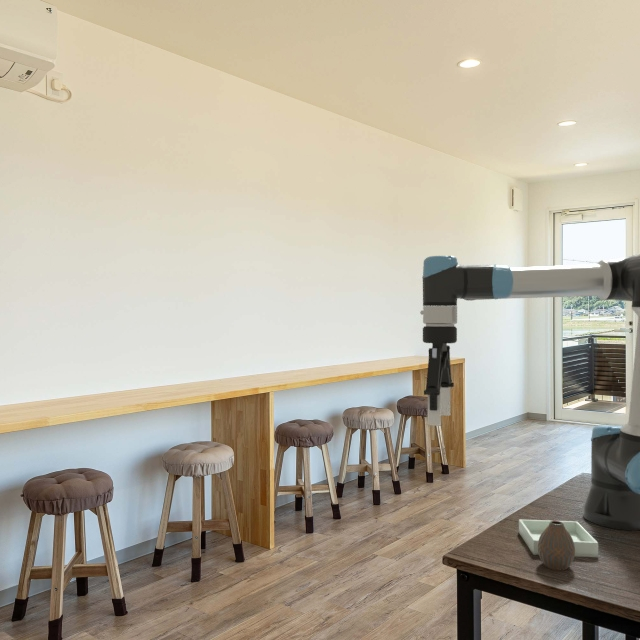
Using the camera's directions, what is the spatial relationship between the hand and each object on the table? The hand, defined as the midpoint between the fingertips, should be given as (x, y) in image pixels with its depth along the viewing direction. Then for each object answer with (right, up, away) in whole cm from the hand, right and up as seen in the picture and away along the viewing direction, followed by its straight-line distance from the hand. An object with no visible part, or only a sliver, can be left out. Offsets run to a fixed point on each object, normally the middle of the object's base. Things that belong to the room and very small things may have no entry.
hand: (439, 420), depth 138 cm
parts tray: (+25, -26, -4) cm, 36 cm away
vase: (+20, -27, -15) cm, 37 cm away
